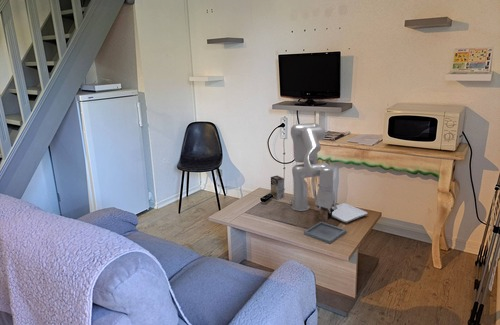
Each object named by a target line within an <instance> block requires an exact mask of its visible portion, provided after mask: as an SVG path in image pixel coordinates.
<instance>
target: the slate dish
mask: <svg viewBox="0 0 500 325" xmlns="http://www.w3.org/2000/svg"><path fill="white" fill-rule="evenodd" d="M345 234H347V229H345V228H342V227H338V226H335V225H333V224H329V223H326V222H324V221H319V222H317V223H316V224H314V225H312V226H311V227H308V228H307V229H306V230H304V231H303V235H305V236H307V237H309V238H312V239H314V240H318V241H321V242H324V243H327V244H329V245H331V244H332V243H334V242H335V241H337V240H339V238H340V237H342V236H345Z"/></svg>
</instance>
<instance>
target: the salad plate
mask: <svg viewBox="0 0 500 325" xmlns="http://www.w3.org/2000/svg"><path fill="white" fill-rule="evenodd" d="M335 205H336V206H337V209H336V210H334V211H333V212H332V218H334V219H336V220H338V221H340V222H343V223H349V222H351V221H354V220H357V219H359V218H361V217H364V216H366V215H367V214H368V212H367V211H365V210H364V209H361V208H358V207H356V206H353V205H351V204H348V203H346V202H343V203H339V204H335ZM332 208H334V207H332Z"/></svg>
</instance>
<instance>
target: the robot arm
mask: <svg viewBox="0 0 500 325" xmlns="http://www.w3.org/2000/svg"><path fill="white" fill-rule="evenodd" d="M326 134H327V133H326V131H325V128H324V127H323V126H322V125H320V124H319V123H316V122H309V123H298V124H293V125H292V126H291V127H290V136H291V139H292V143H293V145H292V146H293V158H294V161H295V163H297V164H296V165H293V166H292V169H291V173H292V178H293V179H292V180H293V199H292V198H290V200H289V203H290V204H291V209H292V210H293V211H296V212H305V211H309V209H310V208H311V206H310V205H309V204H308V182H307V181H306V180H305V179H306V178H307V179H308V178H317V177H319V184H318V185H317V187H318V189H317V194H316V201H314V204H315V206H316V207H317V209H318V213H319V215H320V209H321V208H323V207H324V208H327V209H328V211H329V213H328V219H329V220H331V219H332V218H333V217H332V212H333V211H334V210H336V209H337V206H336V205H337V204H336V198H335V191H334V169H333V167H331V166H330V165H329V163H327V162H322V163H320V162H319V163H318V158H319V156H318V153H319V152H320V151H321V148H322V147H321V144H320V141H321V140H324V139H325V138H326ZM332 207H334V208H332ZM330 218H331V219H330Z"/></svg>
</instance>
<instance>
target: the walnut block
mask: <svg viewBox="0 0 500 325" xmlns="http://www.w3.org/2000/svg"><path fill="white" fill-rule="evenodd" d="M328 213H329V211H328V209H327V208H324V207H323V208H321V209H320V214H319V220H322V221H326V222H328V221H330V220H331V219H332V218H330V219H328Z"/></svg>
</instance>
